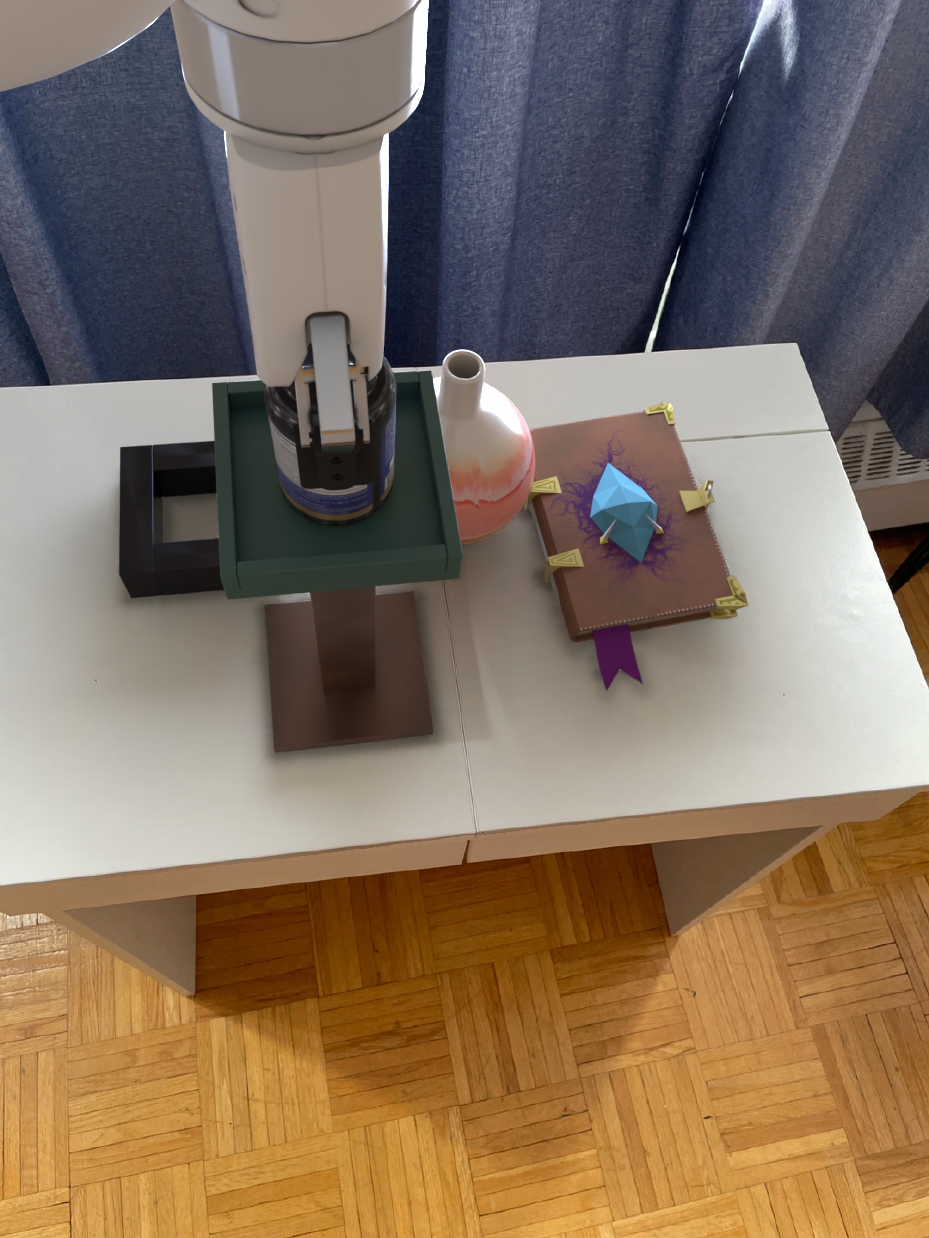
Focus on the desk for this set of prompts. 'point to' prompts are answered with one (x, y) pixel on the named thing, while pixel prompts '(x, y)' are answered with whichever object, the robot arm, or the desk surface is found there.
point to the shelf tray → (323, 554)
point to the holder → (141, 520)
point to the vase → (482, 448)
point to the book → (626, 532)
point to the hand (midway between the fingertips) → (327, 394)
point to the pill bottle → (284, 413)
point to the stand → (346, 669)
